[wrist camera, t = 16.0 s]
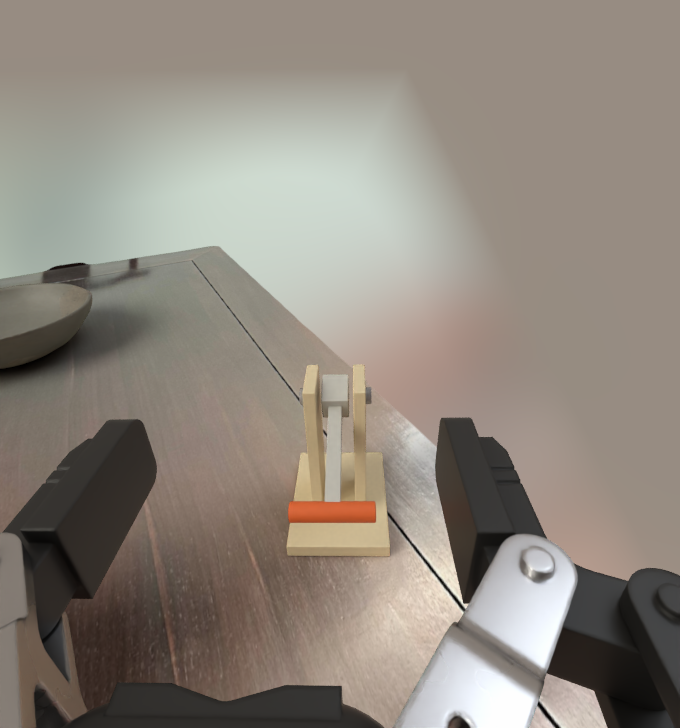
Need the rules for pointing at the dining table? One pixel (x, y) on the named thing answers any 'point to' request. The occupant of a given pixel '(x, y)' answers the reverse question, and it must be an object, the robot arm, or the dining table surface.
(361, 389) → the bracket
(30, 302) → the bowl
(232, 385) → the dining table surface
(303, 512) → the lever
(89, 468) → the robot arm
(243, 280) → the dining table surface
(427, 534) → the dining table surface
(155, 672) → the dining table surface
